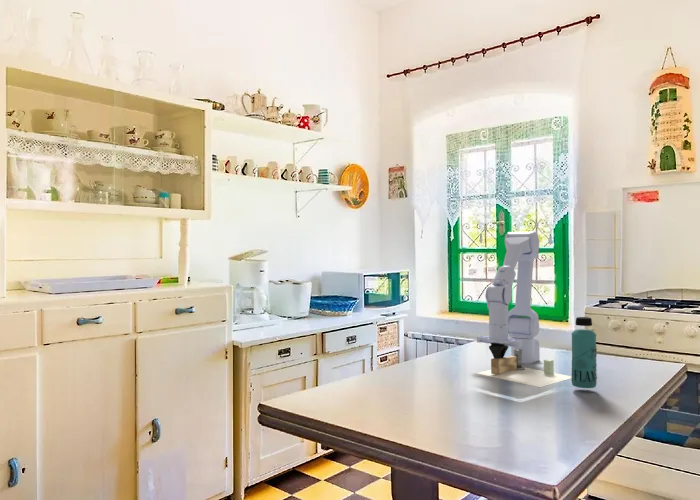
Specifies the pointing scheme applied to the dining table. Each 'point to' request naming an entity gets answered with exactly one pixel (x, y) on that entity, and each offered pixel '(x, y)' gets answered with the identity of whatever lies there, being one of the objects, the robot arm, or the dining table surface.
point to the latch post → (549, 366)
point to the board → (529, 377)
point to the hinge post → (519, 359)
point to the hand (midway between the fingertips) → (498, 368)
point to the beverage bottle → (584, 355)
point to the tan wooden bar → (503, 364)
